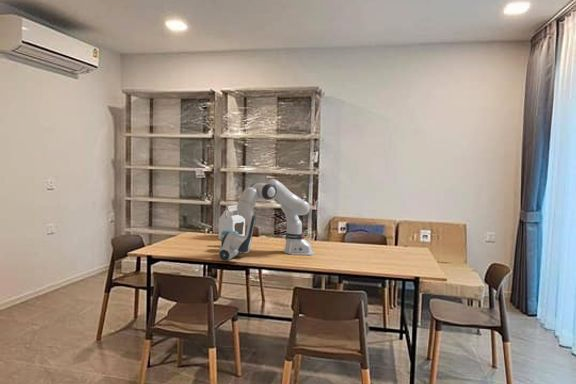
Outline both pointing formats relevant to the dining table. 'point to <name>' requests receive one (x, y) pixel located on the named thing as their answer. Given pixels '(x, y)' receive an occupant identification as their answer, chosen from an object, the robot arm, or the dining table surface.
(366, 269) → the dining table surface
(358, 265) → the dining table surface
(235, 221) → the gable box
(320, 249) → the dining table surface
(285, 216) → the robot arm
